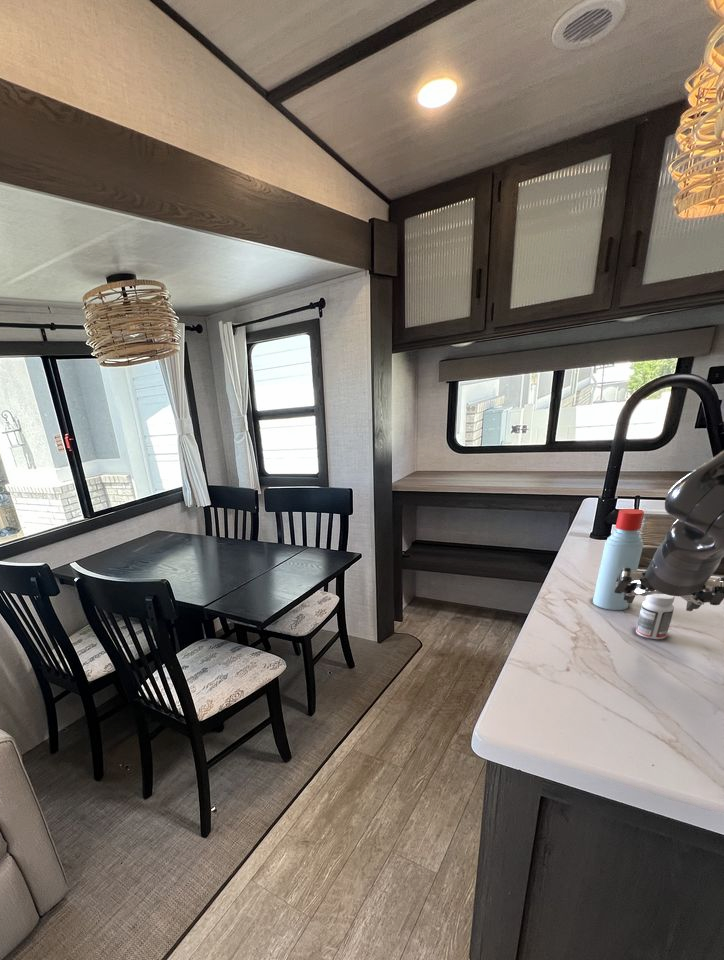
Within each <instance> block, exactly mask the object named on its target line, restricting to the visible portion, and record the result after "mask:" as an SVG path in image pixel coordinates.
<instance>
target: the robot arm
mask: <svg viewBox="0 0 724 960" xmlns="http://www.w3.org/2000/svg"><path fill="white" fill-rule="evenodd" d="M664 510H665V512H666V514H667V515H669V516H670V517H672V518H674V519H675V520H676V521H675V522H674V523H673V524H672V525H671V526H670V528H669V529H668V531H667V533H666V535H665V538H664V539H663V541H662V542H661V543H660V545H659V546H658V547H657V549H656V551H655V553H654V554H653V557H652V558H651V560H650V563H649V565H648V567H647V569H646V570H644V571H642V572H641V573H640V572H637V573H633V572H631V569H630V568H623V569H622V571H621V572H620V574H619V576H618V578H617V579H616V586H615V590H614V592H615V593H618V594H621V593H623V592H624V600H627V603H629V604H631V605H632V604H633V602H634V600H635V598H636V596H641V597H646V596H647V595H651V594H666V595H670V596H675V597H680V598H682V599H683V600H685V601H686V609H685V610H686V611H687V612H693V610H698V609H700V607H701V606H703V605H705V604H706V603H709V605H711V606H719V605H721V603H722V602H723V600H724V576H721V577H718V578H717V580H716V579H715V580H709V579H710V578H711V577H712V575H714V574H715V573H716V572H717V570H718V568H719V566H720V564H721V561H722V559H723V558H724V449H723V450H721V451H720V452H719V453H718V454H716V455H715V456H713V457H712V458H711V459H709V460H708V461H706V462H705V463H703V464H701V465H700V466H698V467H697V468H695V469H694V470H692V471H690V472H689V473H688V474H686V475H684V477H682V478H681V479H680V480H678V481H677V482H676V483H674V485H673V486H672V487H671V488H670V489H669V491H668V492H667V494H666V496H665V500H664ZM706 589H708V590H709V591H706Z"/></svg>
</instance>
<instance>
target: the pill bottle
mask: <svg viewBox="0 0 724 960" xmlns="http://www.w3.org/2000/svg"><path fill="white" fill-rule="evenodd" d="M675 597H676V596H670V595H666V594H651V595H647V596H645V600H644V601H642V604H641V607H640V611H639V615H638V619H637V623H636V627H635V632H636V634H638V635H639V636H640V637H643V638H646V639H652V640H663V639H665V638H666V637H667V635H668V632H669V628H670V625H671V623H672V622H671V621H672V619H673V618H672V617H673V614H674V610H675V606H674V601H675Z"/></svg>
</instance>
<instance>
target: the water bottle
mask: <svg viewBox="0 0 724 960" xmlns="http://www.w3.org/2000/svg"><path fill="white" fill-rule="evenodd" d="M643 549H644V539H642V536H641V535H640V532H639V531H638V530H634V531H628V530H621V529H617V528H616V529H615V530H614V531H613V532H612V533H611V534H610V535H609V536H608V537H607V539H606V540H605V542H604V547H603V552H602V557H601V560H600V561H601V562H600V565H599V569H598V575H597V580H596V584H595V589H594V593H593V599H592V603H593V604H594V606H597V607H599V608H601V609H606V610H610V611H611V610H612V611H624V610H627V609H628V608H629V605H630V603H627V600H624V592H623V593H621V594H618V593H615V592H614V590H615V586H616V579H617V578H618V576H619V574H620V572H621V571H622V569H623V568H630V569H631V572H633V573H638V572H637V571H638V570H639V568H638V567H639V564H640V561H641V556H642V553H643Z"/></svg>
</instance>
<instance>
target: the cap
mask: <svg viewBox="0 0 724 960" xmlns="http://www.w3.org/2000/svg"><path fill="white" fill-rule="evenodd" d="M644 515H645V511H644V510H642V509H635V508H622V509H619V510H618V514H617V518H616V524H615V529H616V530H617V529H621V530H628V531H634V530H637V531H639V530H640V529H641V528H642V524H643V519H644Z"/></svg>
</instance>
